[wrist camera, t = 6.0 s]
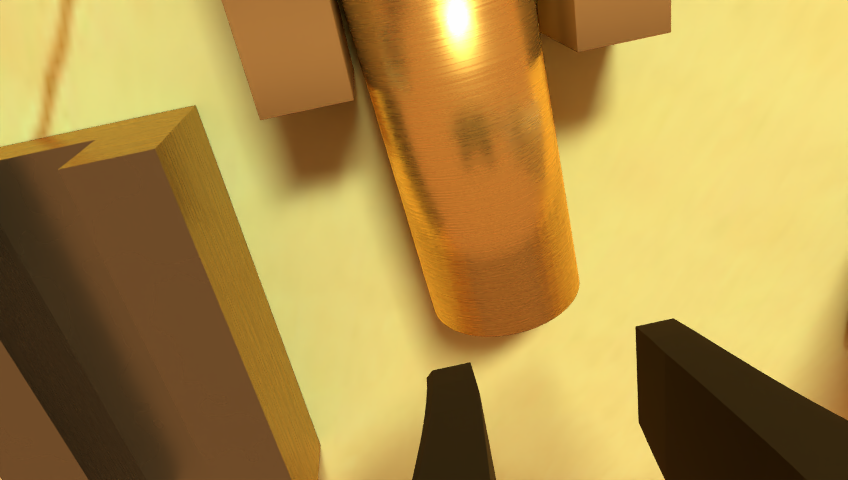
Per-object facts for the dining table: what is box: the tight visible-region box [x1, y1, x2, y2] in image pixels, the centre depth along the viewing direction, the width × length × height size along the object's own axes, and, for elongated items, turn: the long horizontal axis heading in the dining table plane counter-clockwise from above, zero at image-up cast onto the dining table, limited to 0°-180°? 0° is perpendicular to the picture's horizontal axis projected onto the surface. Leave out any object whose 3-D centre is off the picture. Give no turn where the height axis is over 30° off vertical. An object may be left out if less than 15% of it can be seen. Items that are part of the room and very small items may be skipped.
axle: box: [341, 0, 579, 337], centre depth 14 cm, size 10×4×4 cm, turn 14°
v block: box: [0, 105, 320, 480], centre depth 17 cm, size 12×7×4 cm, turn 11°
